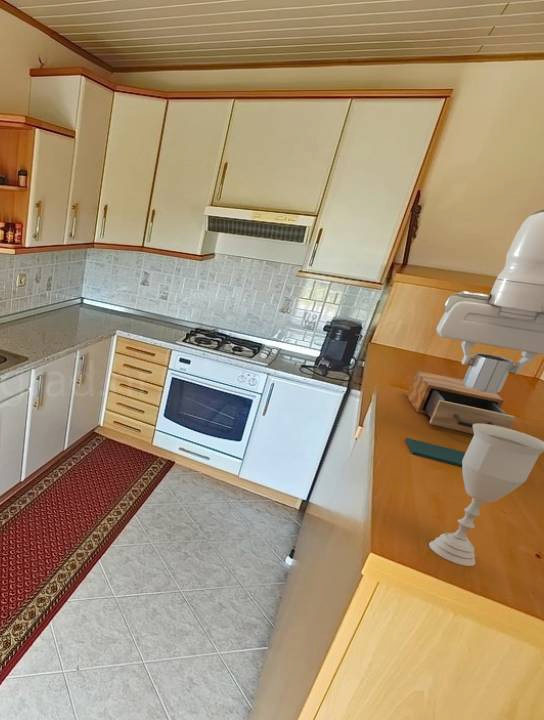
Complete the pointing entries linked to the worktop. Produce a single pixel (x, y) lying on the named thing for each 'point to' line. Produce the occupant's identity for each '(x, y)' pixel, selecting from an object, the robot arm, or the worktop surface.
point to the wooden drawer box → (464, 411)
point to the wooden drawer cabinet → (428, 381)
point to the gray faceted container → (487, 373)
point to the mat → (436, 452)
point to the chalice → (488, 481)
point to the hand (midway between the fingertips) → (489, 369)
